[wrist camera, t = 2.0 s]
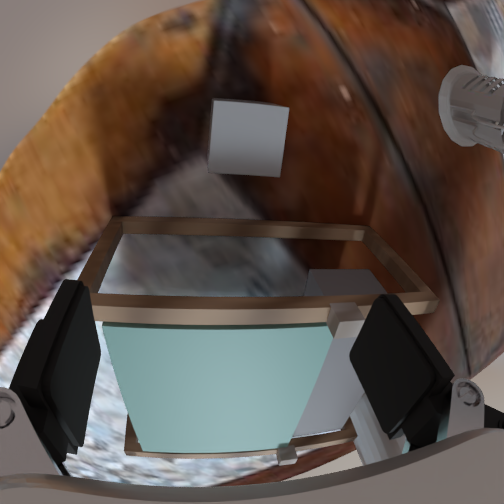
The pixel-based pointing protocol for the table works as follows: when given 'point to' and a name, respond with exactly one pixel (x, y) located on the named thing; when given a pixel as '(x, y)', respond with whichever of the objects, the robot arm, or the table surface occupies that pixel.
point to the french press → (472, 108)
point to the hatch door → (238, 377)
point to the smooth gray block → (246, 137)
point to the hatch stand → (248, 301)
